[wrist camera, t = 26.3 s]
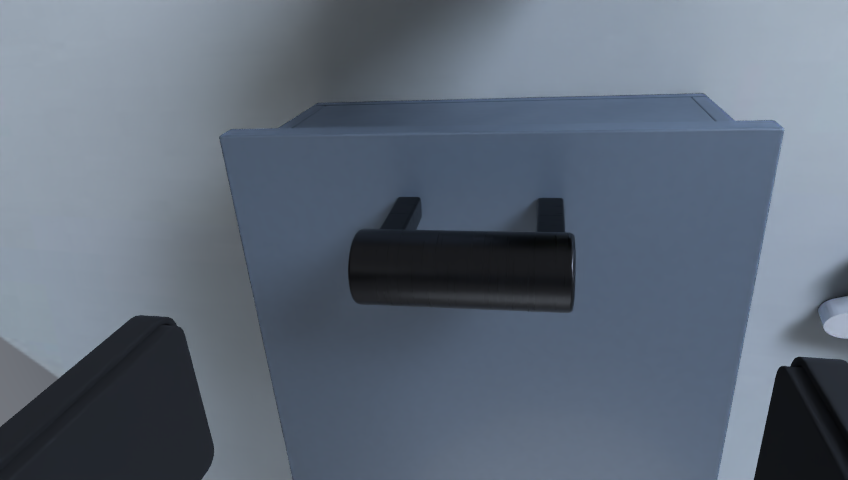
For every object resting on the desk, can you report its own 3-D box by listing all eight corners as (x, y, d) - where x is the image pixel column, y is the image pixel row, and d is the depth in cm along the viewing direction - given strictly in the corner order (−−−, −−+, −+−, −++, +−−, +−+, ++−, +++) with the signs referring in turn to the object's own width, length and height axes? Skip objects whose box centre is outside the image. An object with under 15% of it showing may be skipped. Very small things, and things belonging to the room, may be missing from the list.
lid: (230, 128, 19) (120, 193, 14) (775, 119, 16) (874, 197, 11) (307, 504, 25) (252, 634, 21) (696, 546, 23) (736, 709, 18)
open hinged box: (317, 102, 26) (240, 150, 19) (704, 92, 23) (765, 146, 16) (356, 394, 32) (308, 503, 25) (664, 416, 29) (696, 545, 23)
